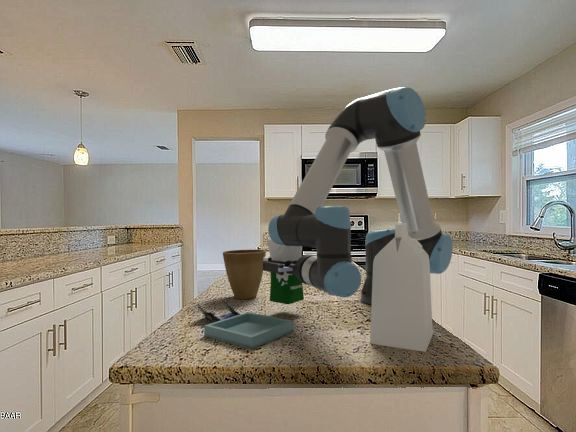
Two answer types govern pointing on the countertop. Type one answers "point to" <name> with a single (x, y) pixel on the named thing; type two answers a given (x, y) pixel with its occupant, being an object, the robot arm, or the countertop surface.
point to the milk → (401, 294)
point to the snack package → (221, 317)
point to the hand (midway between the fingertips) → (280, 260)
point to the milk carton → (285, 275)
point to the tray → (248, 329)
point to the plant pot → (244, 271)
